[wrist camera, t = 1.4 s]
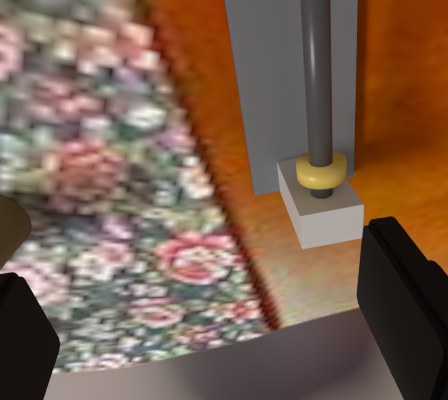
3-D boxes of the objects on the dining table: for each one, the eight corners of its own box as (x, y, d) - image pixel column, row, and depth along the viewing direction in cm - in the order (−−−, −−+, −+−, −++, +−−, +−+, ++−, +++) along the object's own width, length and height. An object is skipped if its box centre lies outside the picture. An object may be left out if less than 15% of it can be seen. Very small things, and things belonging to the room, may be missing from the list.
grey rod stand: (200, -157, 22) (206, -211, 15) (356, -191, 22) (443, -263, 14) (253, 191, 35) (271, 254, 28) (350, 172, 35) (394, 232, 28)
